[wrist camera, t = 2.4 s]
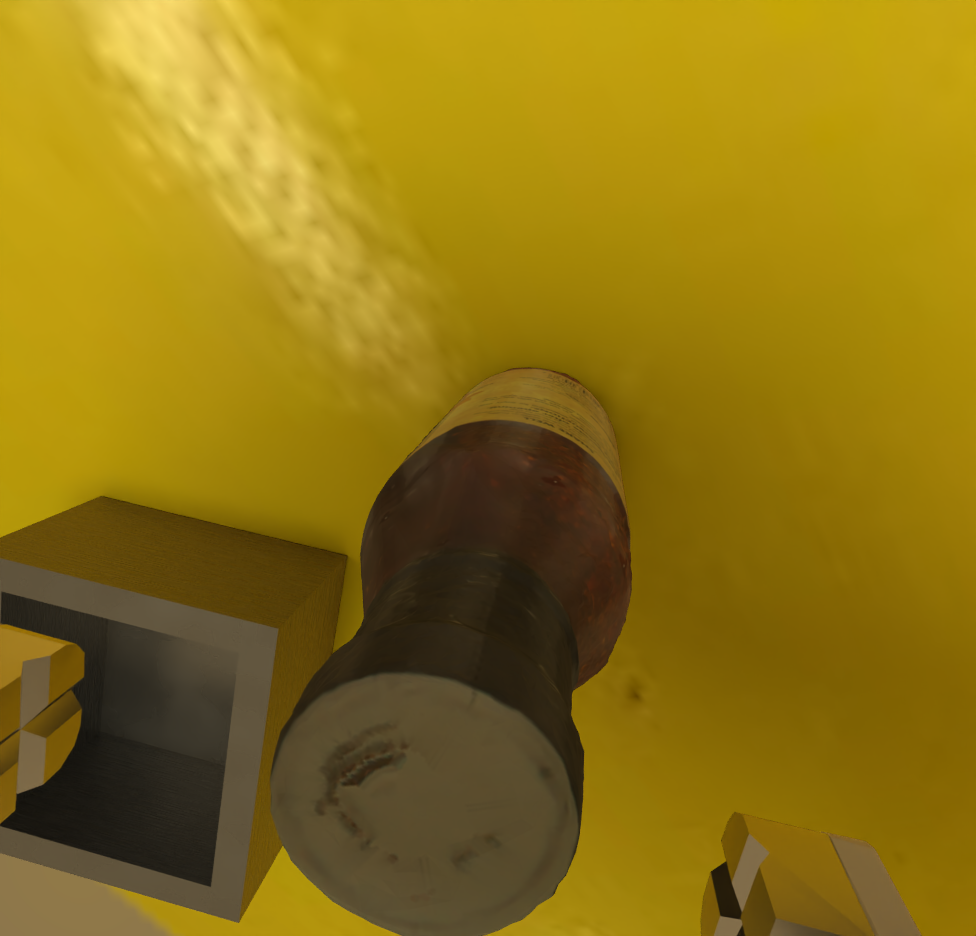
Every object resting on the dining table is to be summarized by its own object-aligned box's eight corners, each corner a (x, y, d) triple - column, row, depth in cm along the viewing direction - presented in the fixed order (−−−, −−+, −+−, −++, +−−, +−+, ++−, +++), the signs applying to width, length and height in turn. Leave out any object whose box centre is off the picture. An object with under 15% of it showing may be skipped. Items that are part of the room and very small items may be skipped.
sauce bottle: (441, 375, 28) (104, 554, 9) (607, 351, 27) (635, 497, 8) (467, 538, 29) (226, 1002, 10) (626, 523, 28) (692, 1007, 9)
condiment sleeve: (347, 555, 30) (278, 628, 24) (309, 798, 33) (238, 922, 27) (101, 496, 31) (-31, 550, 25) (86, 737, 34) (-35, 842, 28)
